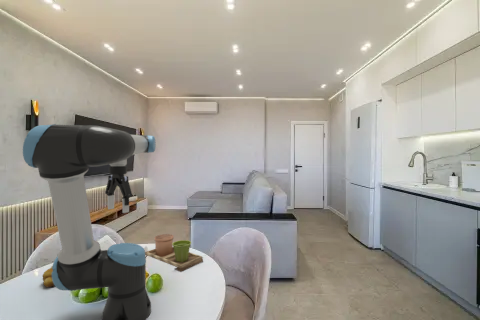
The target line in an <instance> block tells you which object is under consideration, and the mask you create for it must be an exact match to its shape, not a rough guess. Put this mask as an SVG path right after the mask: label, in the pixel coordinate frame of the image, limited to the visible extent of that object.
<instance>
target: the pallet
mask: <svg viewBox="0 0 480 320" xmlns="http://www.w3.org/2000/svg"><path fill="white" fill-rule="evenodd" d="M145 256H148V257H150V258H152V259H155V260H158V261H160V262H163V263H166V264H167V265H170V266H173V267H175V268H174V270H175V271H178V272H180V273H182V272H184V271H186V270H188V269H190V268H193V267H194V266H197V265H199V264H201V263H203V262H204V259H203V256H202V255H199V254H196V253H194V252H190V251H189V255H188V260H186V261H185V262H179V261H178V262H177V261H176V258H175V252H174V248H173V253H172V254H169V255H167V256H157V255H156V252H155V248H154V249H150V250H148V251H145Z"/></svg>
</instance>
